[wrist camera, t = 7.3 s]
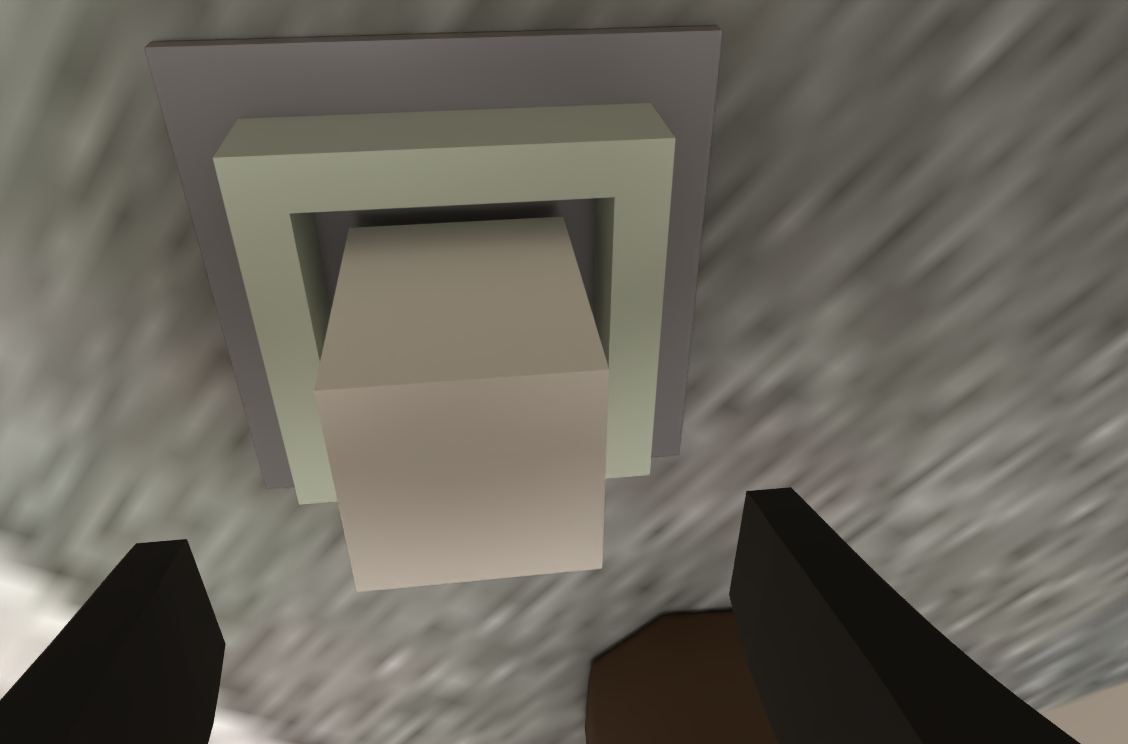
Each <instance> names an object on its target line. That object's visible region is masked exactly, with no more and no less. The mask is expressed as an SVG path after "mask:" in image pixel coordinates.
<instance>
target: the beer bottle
mask: <svg viewBox="0 0 1128 744" xmlns="http://www.w3.org/2000/svg"><path fill="white" fill-rule="evenodd" d="M585 733H586V743H587V744H778V742H777V739H776V737H775V734H774V732H773V729H772V727H771V724H770V722H769V719H768V717H767V714H766V712H765V709H764V706H763V704H762V701H761V699H760V696H759V694H758V691H757V688H756V686H755V683H754V681H753V678H752V675H751V673H750V670H749V667H748V664H747V661H746V657H745V654H744V650H743V646H742V643H741V639H740V635H739V632H738V628H737V624H736V620H735V616H734V612H733V611H721V612H705V613H690V614H675V615H664V616H662V617H660V618H659V619H657V620H656V621H654V622H653V623H651V624H650V625H648V626H647V627H645V628H644V629H642V630H641V631H639V632H638V633H636V634H635V635H633V636H632V637H630V638H629V639H627V640H626V641H624V642H623V643H621V644H620V645H618V646H617V647H615V648H614V649H612V650H611V651H609V652H608V653H606V654H605V655H603V656H602V657H600V658H598V659H597V660H595V662H594V665H593V668H592V671H591V679H590V687H589V696H588V704H587V713H586V721H585Z"/></svg>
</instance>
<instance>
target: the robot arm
mask: <svg viewBox="0 0 1128 744" xmlns="http://www.w3.org/2000/svg"><path fill="white" fill-rule="evenodd" d="M729 596H730V600H731V604H732V608H733V612H734V616H735V620H736V624H737V628H738V632H739V635H740V639H741V643H742V646H743V650H744V654H745V657H746V661H747V664H748V667H749V670H750V673H751V675H752V678H753V681H754V683H755V686H756V688H757V691H758V694H759V696H760V699H761V701H762V704H763V706H764V709H765V712H766V714H767V717H768V719H769V722H770V724H771V727H772V729H773V732H774V734H775V737H776V739H777V742H778V744H1080V743H1079V742H1077V741H1076V740H1075V739H1073V738H1072V737H1071V736H1069V735H1068V734H1066V733H1065V732H1064V731H1063V730H1061V729H1060V728H1058V727H1057V726H1056V725H1055V724H1053V723H1052V722H1051V721H1049V720H1048V719H1047V718H1045V717H1044V716H1043V715H1041V714H1040V713H1039V712H1037V711H1036V710H1035V709H1033V708H1032V707H1031V706H1029V705H1028V704H1027V703H1025V702H1024V701H1023V700H1021V699H1020V698H1019V697H1017V696H1016V695H1015V694H1014V693H1012V692H1011V691H1010V690H1008V689H1007V688H1006V687H1005V686H1003V685H1002V684H1001V683H1000V682H998V681H997V680H996V679H995V678H993V677H992V676H991V675H990V674H989V673H987V672H986V671H985V670H984V669H983V668H981V667H980V666H979V665H978V664H977V663H975V662H974V661H973V660H972V659H971V658H970V657H968V656H967V655H966V654H965V653H964V652H963V651H961V650H960V649H959V648H958V647H957V646H956V645H954V644H953V643H952V642H951V641H950V640H949V639H947V638H946V637H945V636H944V635H943V634H942V633H941V632H940V631H938V630H937V629H936V628H935V627H934V626H933V625H932V624H931V623H930V622H928V621H927V620H926V619H925V618H924V617H923V616H922V615H921V614H920V613H919V612H918V611H916V610H915V609H914V608H913V607H912V606H911V605H910V604H909V603H908V602H907V601H906V600H905V599H904V598H903V597H901V596H900V595H899V594H898V593H897V592H896V591H895V590H894V589H893V588H892V587H891V586H890V585H889V584H888V583H886V582H885V581H884V580H883V579H882V578H881V577H880V576H879V575H878V574H877V573H876V572H875V571H874V570H873V569H872V568H871V567H870V566H869V565H868V564H867V563H866V562H865V561H864V560H863V559H862V558H861V557H860V556H859V555H858V554H857V553H856V552H855V551H854V550H853V549H852V548H851V547H850V546H849V545H848V544H847V543H846V542H845V541H844V540H843V539H842V538H841V537H840V536H839V535H838V534H837V533H836V532H835V531H834V530H833V529H832V528H831V527H830V526H829V525H828V524H827V523H826V522H825V521H824V520H823V519H822V518H821V517H820V516H819V515H818V514H817V513H816V512H815V511H814V510H813V509H812V508H811V507H810V506H809V505H808V504H807V503H806V502H805V501H804V500H803V499H802V498H801V497H800V496H799V495H798V494H797V493H796V492H795V491H794V490H793V489H792V488H791V487H790V488H778V489H766V490H755V491H746V497H745V503H744V509H743V515H742V521H741V527H740V533H739V539H738V545H737V551H736V557H735V563H734V569H733V575H732V580H731V586H730V592H729ZM224 651H225V641H224V639H223V636H222V633H221V630H220V628H219V625H218V622H217V620H216V617H215V614H214V611H213V609H212V606H211V603H210V600H209V598H208V595H207V592H206V590H205V587H204V584H203V581H202V579H201V576H200V573H199V571H198V568H197V565H196V562H195V560H194V557H193V554H192V552H191V549H190V546H189V543H188V541H187V539H183V540H171V541H159V542H148V543H136V544H135V545H134V547H133V548H132V549H131V550H130V551H129V552H128V553H127V554H126V555H125V557H124V558H123V559H122V560H121V561H120V562H119V563H118V565H117V566H116V567H115V568H114V569H113V570H112V572H111V573H110V574H109V575H108V576H107V577H106V579H105V580H104V581H103V582H102V583H101V585H100V586H99V587H98V588H97V589H96V591H95V592H94V593H93V594H92V595H91V596H90V598H89V599H88V600H87V601H86V602H85V604H84V605H83V606H82V607H81V608H80V609H79V611H78V612H77V613H76V614H75V615H74V616H73V618H72V619H71V620H70V621H69V622H68V624H67V625H66V626H65V627H64V628H63V629H62V631H61V632H60V633H59V634H58V635H57V636H56V638H55V639H54V640H53V641H52V642H51V643H50V645H49V646H48V647H47V648H46V649H45V650H44V651H43V652H42V654H41V655H40V656H39V657H38V658H37V659H36V660H35V661H34V663H33V664H32V665H31V666H30V667H29V668H28V669H27V671H26V672H25V673H24V674H23V675H22V676H21V677H20V678H19V680H18V681H17V682H16V683H15V684H14V685H13V686H12V687H11V689H10V690H9V691H8V692H7V693H6V694H5V695H4V697H3V698H2V699H1V700H0V744H208V742H209V738H210V734H211V730H212V727H213V723H214V717H215V711H216V705H217V699H218V693H219V686H220V679H221V672H222V665H223V658H224Z"/></svg>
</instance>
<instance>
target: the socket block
mask: <svg viewBox="0 0 1128 744" xmlns="http://www.w3.org/2000/svg"><path fill="white" fill-rule="evenodd" d="M722 32H723V30H721V29H720V28H719V27H718V26H685V27H650V28H615V29H581V30H546V31H512V32H477V33H442V34H408V35H373V36H338V37H304V38H269V39H234V40H200V41H165V42H151V43H149V44H148V45H147V46H146V47H145V51H146V55H147V58H148V62H149V66H150V69H151V73H152V76H153V80H154V84H155V87H156V91H157V94H158V98H159V102H160V105H161V109H162V113H163V116H164V120H165V123H166V127H167V131H168V134H169V138H170V142H171V145H172V149H173V152H174V156H175V160H176V163H177V167H178V170H179V174H180V178H181V181H182V185H183V189H184V192H185V196H186V199H187V203H188V207H189V210H190V214H191V218H192V221H193V225H194V228H195V232H196V236H197V239H198V243H199V246H200V250H201V254H202V257H203V261H204V265H205V268H206V272H207V275H208V279H209V283H210V286H211V290H212V294H213V297H214V301H215V304H216V308H217V312H218V315H219V319H220V322H221V326H222V330H223V333H224V337H225V341H226V344H227V348H228V351H229V355H230V359H231V362H232V366H233V370H234V373H235V377H236V380H237V384H238V388H239V391H240V395H241V398H242V402H243V406H244V409H245V413H246V417H247V420H248V424H249V427H250V431H251V435H252V438H253V442H254V446H255V449H256V453H257V456H258V460H259V464H260V467H261V471H262V474H263V478H264V482H265V485H266V489H276V488H288V487H295V490H296V494H297V498H298V502H299V505H300V504H312V503H323V502H335V501H337V496H336V491H335V487H334V482H333V477H332V473H331V468H330V463H329V459H328V454H327V449H326V445H325V440H324V435H323V431H322V426H321V421H320V417H319V412H318V407H317V403H316V398H315V393H314V388H315V384H316V379H317V374H318V370H319V365H320V360H321V356H322V351H323V346H324V342H325V337H326V332H327V328H328V323H329V319H330V314H331V309H332V305H333V300H334V295H335V291H336V286H337V281H338V277H339V272H340V267H341V263H342V258H343V253H344V249H345V244H346V239H347V235H348V230H349V228H356V227H375V226H394V225H413V224H432V223H451V222H470V221H489V220H508V219H527V218H546V217H563V218H564V221H565V224H566V228H567V231H568V234H569V238H570V241H571V244H572V248H573V251H574V254H575V258H576V261H577V264H578V267H579V271H580V274H581V277H582V281H583V284H584V287H585V291H586V294H587V297H588V301H589V304H590V307H591V311H592V314H593V317H594V321H595V324H596V327H597V331H598V334H599V337H600V341H601V344H602V347H603V351H604V354H605V357H606V361H607V364H608V367H609V389H608V417H607V446H606V474H605V479H606V478H618V477H630V476H642V475H650V464H651V457H663V456H675V455H679V453H680V443H681V433H682V423H683V414H684V404H685V394H686V384H687V374H688V365H689V355H690V345H691V335H692V325H693V316H694V306H695V296H696V286H697V276H698V267H699V257H700V247H701V237H702V227H703V218H704V208H705V198H706V188H707V179H708V169H709V159H710V149H711V139H712V130H713V120H714V110H715V100H716V90H717V81H718V71H719V61H720V51H721V41H722Z"/></svg>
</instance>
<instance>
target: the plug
mask: <svg viewBox="0 0 1128 744" xmlns="http://www.w3.org/2000/svg"><path fill="white" fill-rule="evenodd" d="M608 389H609V367H608V364H607V361H606V357H605V354H604V351H603V347H602V344H601V341H600V337H599V334H598V331H597V327H596V324H595V321H594V317H593V314H592V311H591V307H590V304H589V301H588V297H587V294H586V291H585V287H584V284H583V281H582V277H581V274H580V271H579V267H578V264H577V261H576V258H575V254H574V251H573V248H572V244H571V241H570V238H569V234H568V231H567V228H566V224H565V221H564V218H563V217H546V218H527V219H508V220H489V221H470V222H451V223H432V224H413V225H394V226H375V227H356V228H349V230H348V235H347V239H346V244H345V249H344V253H343V258H342V263H341V267H340V272H339V277H338V281H337V286H336V291H335V295H334V300H333V305H332V309H331V314H330V319H329V323H328V328H327V332H326V337H325V342H324V346H323V351H322V356H321V360H320V365H319V370H318V374H317V379H316V384H315V388H314V393H315V398H316V403H317V407H318V412H319V417H320V421H321V426H322V431H323V435H324V440H325V445H326V449H327V454H328V459H329V463H330V468H331V473H332V477H333V482H334V487H335V491H336V496H337V501H338V505H339V510H340V515H341V519H342V524H343V529H344V533H345V538H346V543H347V547H348V552H349V557H350V561H351V566H352V571H353V575H354V580H355V585H356V589H357V592H363V591H374V590H384V589H394V588H405V587H415V586H425V585H436V584H446V583H457V582H467V581H477V580H488V579H498V578H508V577H519V576H529V575H539V574H550V573H560V572H570V571H581V570H591V569H602V558H603V530H604V502H605V474H606V446H607V417H608Z"/></svg>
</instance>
